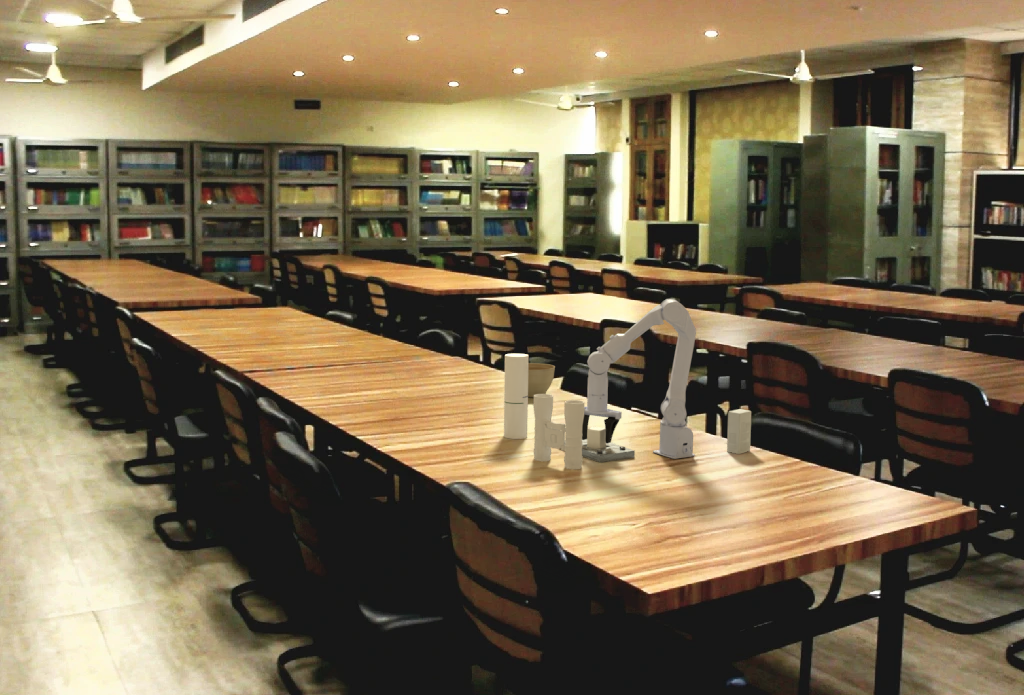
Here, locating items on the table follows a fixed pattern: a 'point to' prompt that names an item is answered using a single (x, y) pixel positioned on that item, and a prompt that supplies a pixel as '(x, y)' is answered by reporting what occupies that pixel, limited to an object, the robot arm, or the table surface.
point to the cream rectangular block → (596, 437)
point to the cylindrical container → (516, 396)
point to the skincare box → (739, 431)
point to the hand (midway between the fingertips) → (596, 440)
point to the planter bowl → (539, 378)
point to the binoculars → (558, 431)
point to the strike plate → (607, 452)
